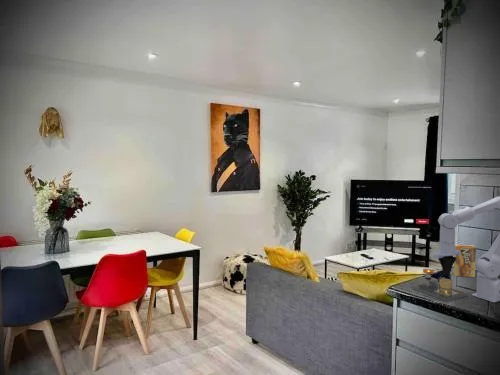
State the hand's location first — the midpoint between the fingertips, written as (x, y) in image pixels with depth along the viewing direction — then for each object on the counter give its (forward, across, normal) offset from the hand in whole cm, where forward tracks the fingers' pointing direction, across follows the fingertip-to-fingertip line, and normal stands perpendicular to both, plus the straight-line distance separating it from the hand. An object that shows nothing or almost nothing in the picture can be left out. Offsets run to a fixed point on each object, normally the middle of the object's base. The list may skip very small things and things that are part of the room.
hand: (446, 273), depth 157 cm
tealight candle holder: (+5, 0, -9) cm, 10 cm away
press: (+9, 0, -4) cm, 10 cm away
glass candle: (+8, 0, 0) cm, 8 cm away
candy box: (+10, -33, -15) cm, 37 cm away
